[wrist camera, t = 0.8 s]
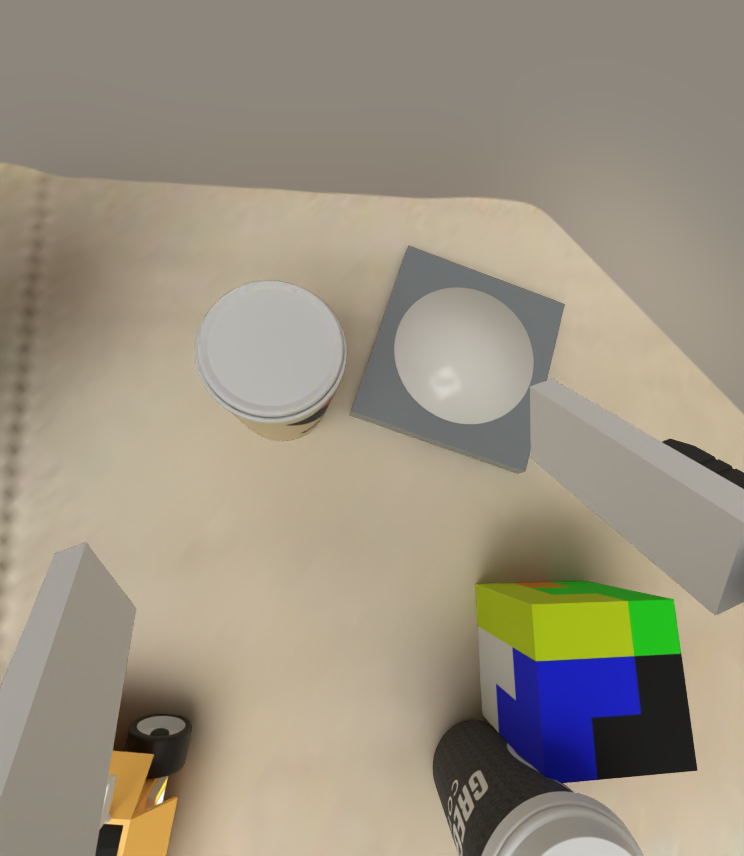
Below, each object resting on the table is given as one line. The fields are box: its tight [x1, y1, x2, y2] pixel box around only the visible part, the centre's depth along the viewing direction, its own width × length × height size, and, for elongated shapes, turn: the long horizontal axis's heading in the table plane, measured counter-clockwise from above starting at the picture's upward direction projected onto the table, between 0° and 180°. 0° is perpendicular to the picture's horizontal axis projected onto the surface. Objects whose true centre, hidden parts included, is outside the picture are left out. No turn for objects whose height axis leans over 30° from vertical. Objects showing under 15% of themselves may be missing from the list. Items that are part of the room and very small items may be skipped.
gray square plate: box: [350, 246, 565, 473], centre depth 41 cm, size 16×17×2 cm
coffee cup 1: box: [195, 281, 347, 441], centre depth 33 cm, size 9×9×12 cm
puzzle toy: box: [475, 581, 697, 783], centre depth 33 cm, size 10×10×10 cm
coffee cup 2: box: [433, 720, 643, 856], centre depth 28 cm, size 10×10×15 cm
